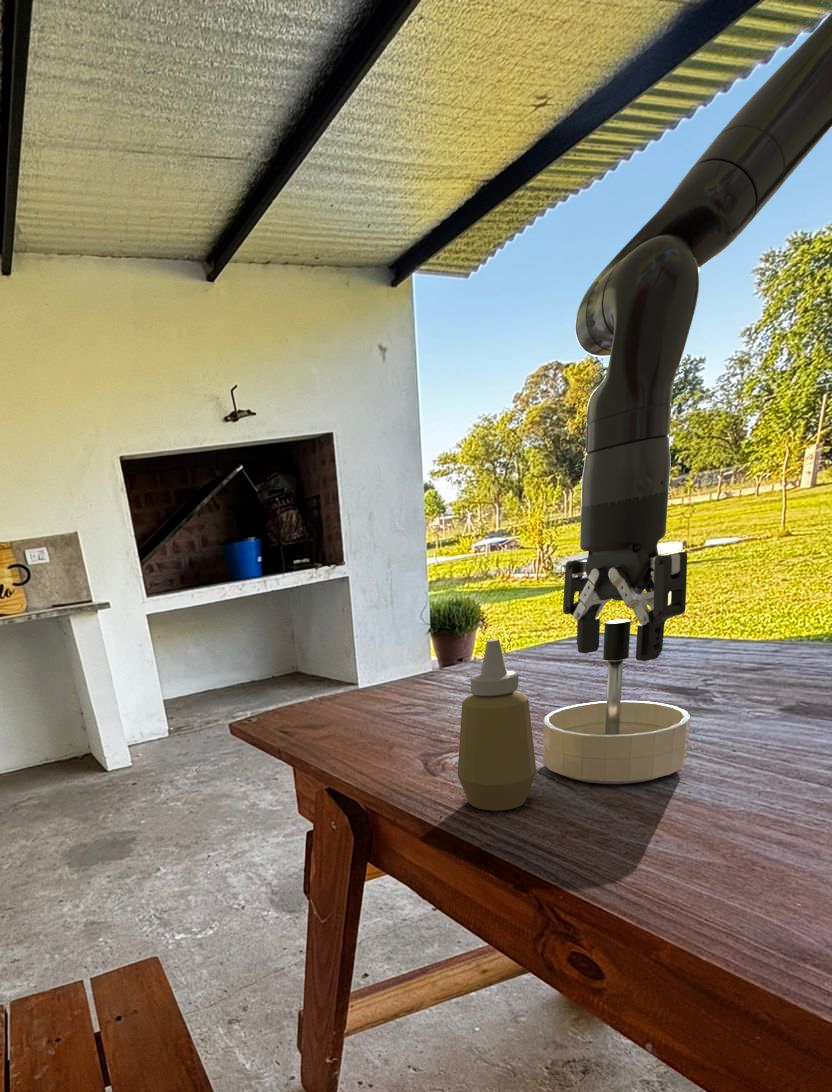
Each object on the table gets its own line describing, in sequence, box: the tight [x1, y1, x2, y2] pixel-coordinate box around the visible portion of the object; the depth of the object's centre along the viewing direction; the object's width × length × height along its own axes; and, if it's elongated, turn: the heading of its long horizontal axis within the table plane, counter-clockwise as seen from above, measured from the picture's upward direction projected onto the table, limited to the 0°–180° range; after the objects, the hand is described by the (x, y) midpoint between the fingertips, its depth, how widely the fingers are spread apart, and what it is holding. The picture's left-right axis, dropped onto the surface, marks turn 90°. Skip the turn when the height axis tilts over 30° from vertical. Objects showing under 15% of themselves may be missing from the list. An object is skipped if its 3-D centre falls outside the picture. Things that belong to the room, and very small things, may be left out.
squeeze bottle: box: [457, 638, 537, 812], centre depth 66 cm, size 8×8×18 cm
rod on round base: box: [602, 618, 632, 735], centre depth 69 cm, size 6×6×16 cm
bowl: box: [542, 700, 692, 785], centre depth 71 cm, size 14×14×6 cm
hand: (615, 655), depth 68 cm, fingers open, 8 cm apart
